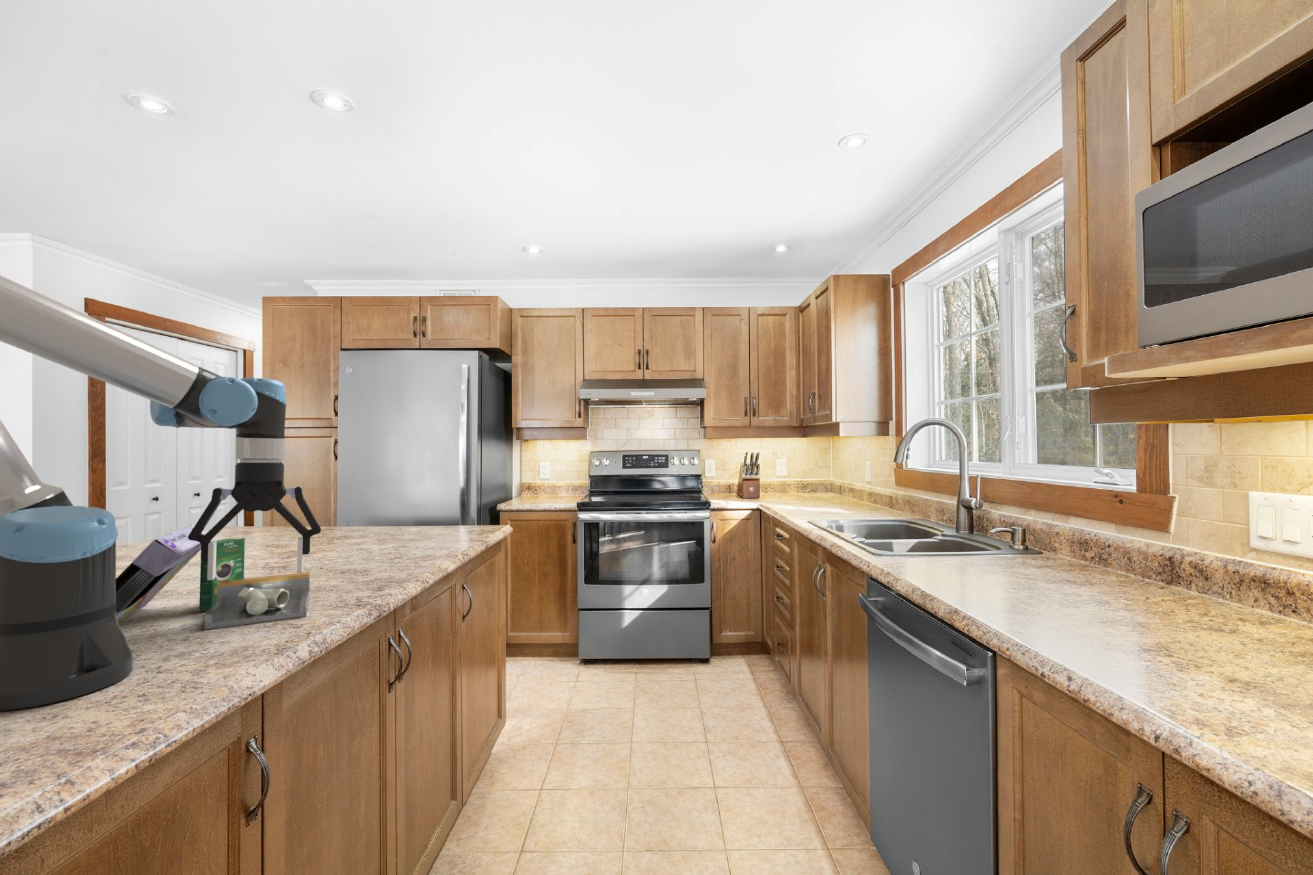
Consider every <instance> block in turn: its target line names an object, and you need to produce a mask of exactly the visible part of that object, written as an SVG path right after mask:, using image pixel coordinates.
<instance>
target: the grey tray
mask: <svg viewBox="0 0 1313 875" xmlns="http://www.w3.org/2000/svg"><path fill="white" fill-rule="evenodd" d="M310 577H311V572H310V571H308V572H302V573H297V572H296V573H287V574H278V575H277V574H276V575H267V576H257V577H247V578H246V577H245V578H244V579H236V580H225V581H219V582H218V583H217V601H216V602H215V603H214V605H213V606H212V607H211V608H210V609H209V611H206V613H205V615H204V630H205V631H206V630H213V629H220V628H227V627H228V628H230V627H235V626H236V627H237V626H243V625H244V626H245V625H251V624H252V625H253V624H258V623H259V624H260V623H266V622H268V623H269V622H275V621H281V620H289V619H297V618H304V617H305V618H306V617H307V614H308V610H309V605H310V602H311V600H310V598H311V596H310V594H311V592H310V588H311V587H310V586H311V585H310V584H311V582H310V581H311V580H310ZM244 588H254V589H285V590H288V591H289V602H288V603H287V605H286V606H285V607H284V608H283V609H276V608H269V607H268V608H267V609H266V611H265V612H263V613H262V614H259V615H252V614H250V613H248V612H247V609H246V607H241V606H238V604H237V596H238V594H239V593H240V591H241V590H242V589H244Z"/></svg>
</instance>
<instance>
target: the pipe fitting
mask: <svg viewBox="0 0 1313 875" xmlns="http://www.w3.org/2000/svg"><path fill="white" fill-rule="evenodd" d="M288 602H289V591H288V590H285V589H254V588H244V589H242V590H241V591H240V593H239V594H238V596H237V604H238V606H241V607H246V609H247V612H248V613H250V614H252V615H259V614H262V613H263V612H265V611H266V609H267V608H268V607H269V608H276V609H283V608H284V607H285V606H286V605H287V603H288Z"/></svg>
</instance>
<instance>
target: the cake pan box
mask: <svg viewBox="0 0 1313 875" xmlns="http://www.w3.org/2000/svg"><path fill="white" fill-rule="evenodd" d="M195 525H196V524H191V525H189V526H187V527H184V528H182V529H177V530H174V531H172V532H171V533H168V534H166V535H163V536H161V537H157V538H155V539H154V540H152V541H151V542H150V543H149V544H148V545H147V546H146V547H145V548H144V549H143V550H142V551H141V552H140V553H139V554H138V555H137V556H136V558H135V559H134V560H133V561H131V563H130V564H128V565H127V567H126V568H125V569H124V570H123V571H122V572H121V573H120V574H119V575H118V576H116V620H117V622H118V624H119V623H120V622H122V621H124V620H126V619H127V618H128V617H131V616H132V615H133V614H135V613H137V612H138V611H140V610H142V609H143V608H145V607H146V606H147V604H149V603H150V602H151V601H152V600H153V599H154V598H155V597H156V595H158V593H160V592H161V591H162V590H163V588H165V587H166V586H167V584H168V583H170V581H171V580H172V579H173V578H174V577H175V576H177V574H178V573H179V572H180V571H181V570H182V569H183V568H184V567H185V566H186V565H187V564H188V563H189V562H190V561H191V560H192V559H193V558H194V557H195V556H196V555H197V554H198V553H199V552H201V544H200V542H198V541H194V540H189V539H188V536H189V534H190V532H191V531H192V529H193V528H194V526H195ZM206 533H207V532H206V531H205V530H203V531H202V533H201V534H206Z"/></svg>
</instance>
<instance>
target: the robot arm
mask: <svg viewBox="0 0 1313 875" xmlns="http://www.w3.org/2000/svg"><path fill="white" fill-rule="evenodd" d="M0 342H2V343H4V344H8V345H9V346H12V347H15V348H16V349H19V350H22V351H25V352H28V353H31V354H32V355H34V356H37V357H40V358H43V359H45V360H48V361H50V362H53V363H55V364H58V365H60V366H63V367H66V368H68V369H71V370H74V371H76V372H78V373H81V374H84V375H86V376H89V377H91V378H94V379H95V380H98V381H101V382H104V383H106V384H109V385H111V386H113V387H117V388H119V389H122V390H124V391H126V392H129V393H131V394H134V395H137V396H139V397H142V398H145V399H147V400H149V401H150V402H149V410H150V411H149V413H150V416H151V420H152V422H153V423H154V424H155V425H157V426H160V427H169V428H170V427H173V428H176V429H180V428H193V429H194V428H199V429H230V430H232V429H236V433H235V434H236V436H235V437H236V438H235V459H236V460H239V462H237V463H236V464H235V466H234V467H235V468H234V471H235V472H234V486H233V487H232V488H231V489H230V488H223V487H216V488H214V489H212V493H211V499H210V501H209V503H208V505H207V506H206V508H205V509H204V510H203V512H202V514H201V515H200V517H199V519H198V521H197V522H196V523H195V524H194V525H195V526H194V528H193V529H192V531H191V532H190V534H189V536H188V539H189V540H194V541H198V542H200V544H201V550H200V561H201V560H202V561H208V572H207V580H213V579H214V578H215V577H216V546H217V541H218V540H214V541H215V542H212V540H213V539H214V538H215V537H216V536H217V535H218V534H219V533H220V532H221V531H222V530H224V528H225V527H226V526H227V525H228V524H229V523H230V522H232V520H233V519H234V518H236V516H237V515H239V514H240V513H241V512H242V511H243V510H244V511H246V512H248V513H249V512H250V513H251V512H257V511H260V512H269V511H272V510H273V509H274V511H276V512H277V513H278V514H280V515H281V517H282V518H284V520H285V521H286V522H287V523H288V524H289V525H290V526H292V528H294V529H295V531H297V533H298V534H300V536H299V537H298V539H297V559H296V560H297V563H296V566H297V568H296V573H303V571H304V569H303V568H304V555H310V552H311V537H313V536H315V535H319V534H320V533H321V532H322V527H321V525H320V523H318V521H317V519H316V517H315V515H314V513H313V511H312V510H311V508H310V506H309V504H308V502H307V501H306V499H305V497H304V490H303V487H302V485H298V486H296V487H288V488H286V487H285V483H284V479H285V464H284V463H283V462H282V461H281V460H284V459H285V447H286V446H285V445H286V444H285V442H286V441H285V440H286V439H285V433H286V431H285V430H286V417H287V416H286V415H287V413H286V411H287V405H288V404H287V392H286V386H285V384H284V383H283V382H282V381H280V380H276V379H271V378H261V377H260V378H259V377H242V378H236V377H231V376H222V375H219V374H217V373H214V372H212V371H210V370H208V369H206V368H202V367H200V366H198V365H197V364H194V363H193V362H190V361H188V360H186V359H183V358H182V357H180V356H177V355H175V354H173V353H170V352H168V351H166V350H164V349H162V348H159V347H157V346H156V345H153V344H151V343H149V342H146V341H144V340H143V339H140V338H139V337H136V336H135V335H134V336H133V335H131V334H129V333H127V332H125V331H123V330H121V329H119V328H116V327H114V326H111V325H110V324H108V323H105V322H103V321H101V320H99V319H97V318H94V317H92V316H90V315H87V314H86V313H84V312H81V311H80V310H77V309H75V308H73V307H70V306H68V305H66V304H63V303H61V302H59V301H57V300H55V299H53V298H50V297H49V296H46V295H44V294H41V293H39V292H37V291H35V290H33V289H31V288H29V287H27V286H24V285H23V284H20V283H18V282H15V281H13V280H12V279H9V278H7V277H5V276H2V275H1V274H0ZM286 495H289V497H290V498H292V499H293V500H294V499H295V501H296V503H297V505H298V507H299V509H300V511H301V513H302V514H303V516H304V518H305V519H306V521H307V523H308V524H309V528H307V527H306V526H305V525H304V524H303V523H302V522H301V521H300V520H299V519H298V518H297V517H296V516H295V515H294V514H293V513H292V512H291V511H290V510H289V509H288V508H287V507H286V506H285V505H284V504H283V502H281V500H282V499H284V497H285V496H286ZM229 496H231V497H232V498H233V500H235V501H236V504H235V505H234V506H233V507H232V508H231V509H230V510H229V511H228V512H227V513H226V514H225V515H224V516H223V517H222V518H221V519H220V520H219V521H217V523H215V525H214V526H212V527H211V529H209V531H207V532H206V534H201V533H202V531H205V529H206V527H207V525H208V524H209V522H210V520H212V519H211V518H212V517H213V515H214V514H215V513H216V511H217V510H218V508H219V506H220V504H221V502H222V501H225V500H227V498H228V497H229ZM117 540H118V529H117V526H116V520H115V517H114V515H113V513H112V512H110V511H108V510H107V509H104V508H101V507H93V506H90V507H88V506H87V507H86V506H82V505H74V504H73V503H72V501H71V500H70V498H69V497H68V495H67V494H66V493H65V490H64V489H63V487H60V486H56V485H52V484H51V485H50V484H47V483H44V482H43V481H42V480H41V479H40V477H39V476H38V474H37V473H36V472H35V470H34V469H33V467H32V465H31V464H30V462H29V461H28V459H27V458H26V457H25V455H24V453H23V452H22V450H21V449H20V447H19V445H18V444H17V443H16V441H15V440H14V438H13V437H12V435H11V434H10V432H9V430H8V429H7V428H6V426H5V425H4V423H3V421H2V420H1V419H0V712H4V711H12V710H13V711H14V710H21V709H26V708H28V709H29V708H32V707H38V706H43V705H48V704H52V703H58V702H62V701H65V700H69V699H73V698H76V697H80V696H83V695H86V694H90V693H93V692H95V691H99V690H102V689H104V688H106V687H109V686H112V685H113V684H115V683H118V682H120V681H121V680H123V679H126V677H128V676H129V675H131V673H132V672H133V670H134V666H133V665H134V662H133V661H134V660H133V652H132V649H131V648H130V645H129V643H128V641H127V639H126V637H125V635H124V633H123V631H122V628H121V626H120V624H119V623H118V622H117V620H116V578H117V574H116V572H117V566H116V565H117V562H116V561H117V552H116V551H117V549H116V548H117Z"/></svg>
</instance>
